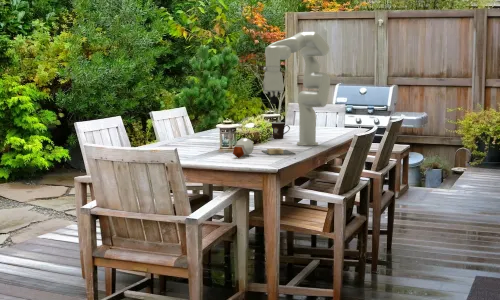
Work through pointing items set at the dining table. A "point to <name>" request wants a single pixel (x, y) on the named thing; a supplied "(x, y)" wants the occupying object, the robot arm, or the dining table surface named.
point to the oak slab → (275, 151)
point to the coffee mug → (278, 129)
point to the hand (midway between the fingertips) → (273, 104)
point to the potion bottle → (243, 147)
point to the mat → (285, 152)
